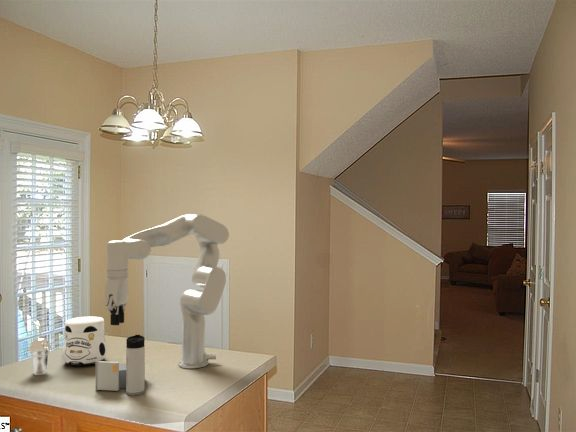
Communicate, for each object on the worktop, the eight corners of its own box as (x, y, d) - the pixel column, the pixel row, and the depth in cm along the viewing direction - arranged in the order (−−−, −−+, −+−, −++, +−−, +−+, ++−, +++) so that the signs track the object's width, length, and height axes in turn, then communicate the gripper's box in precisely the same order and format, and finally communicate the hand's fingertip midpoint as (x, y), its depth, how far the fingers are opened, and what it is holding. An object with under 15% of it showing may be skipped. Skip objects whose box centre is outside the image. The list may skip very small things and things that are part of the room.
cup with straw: (28, 377, 194) (28, 326, 193) (27, 371, 201) (27, 321, 201) (52, 374, 198) (52, 323, 198) (50, 368, 206) (50, 319, 205)
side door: (119, 390, 180) (119, 361, 180) (117, 392, 179) (117, 363, 179) (96, 389, 182) (96, 360, 181) (94, 390, 180) (94, 361, 180)
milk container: (66, 371, 202) (66, 326, 201) (59, 360, 216) (59, 318, 216) (111, 364, 211) (111, 321, 211) (101, 354, 226) (101, 314, 225)
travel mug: (146, 389, 183) (146, 334, 182) (141, 396, 176) (142, 339, 176) (129, 389, 182) (129, 334, 182) (123, 396, 176) (124, 339, 175)
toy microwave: (144, 379, 193) (144, 360, 193) (143, 387, 184) (143, 367, 184) (100, 382, 190) (100, 362, 189) (97, 390, 181) (97, 370, 181)
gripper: (118, 271, 194) (117, 318, 194) (96, 276, 177) (96, 328, 178) (136, 271, 193) (136, 319, 193) (116, 277, 176) (116, 329, 177)
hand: (117, 323), depth 185 cm, fingers open, 3 cm apart
